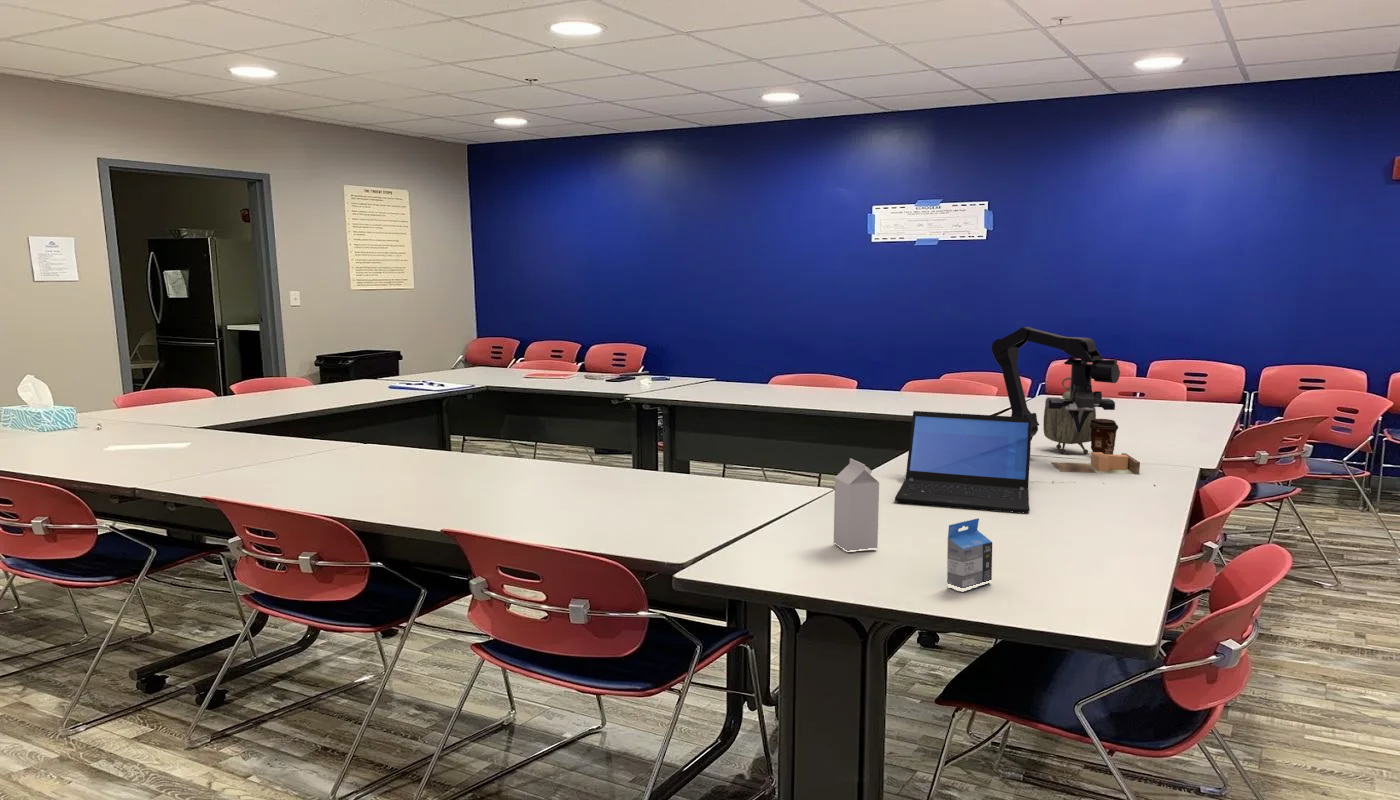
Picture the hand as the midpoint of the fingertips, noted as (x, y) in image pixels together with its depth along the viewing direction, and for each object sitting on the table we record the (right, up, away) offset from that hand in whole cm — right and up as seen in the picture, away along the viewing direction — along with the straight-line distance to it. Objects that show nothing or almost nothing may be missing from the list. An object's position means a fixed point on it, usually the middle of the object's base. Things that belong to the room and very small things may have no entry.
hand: (1078, 432), depth 283 cm
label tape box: (-62, -26, -103) cm, 124 cm away
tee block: (+10, -11, 0) cm, 15 cm away
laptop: (-42, -16, -27) cm, 52 cm away
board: (+5, -12, +1) cm, 13 cm away
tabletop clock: (+8, -8, +30) cm, 33 cm away
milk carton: (-80, -23, -79) cm, 115 cm away
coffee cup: (+14, -10, +18) cm, 25 cm away
